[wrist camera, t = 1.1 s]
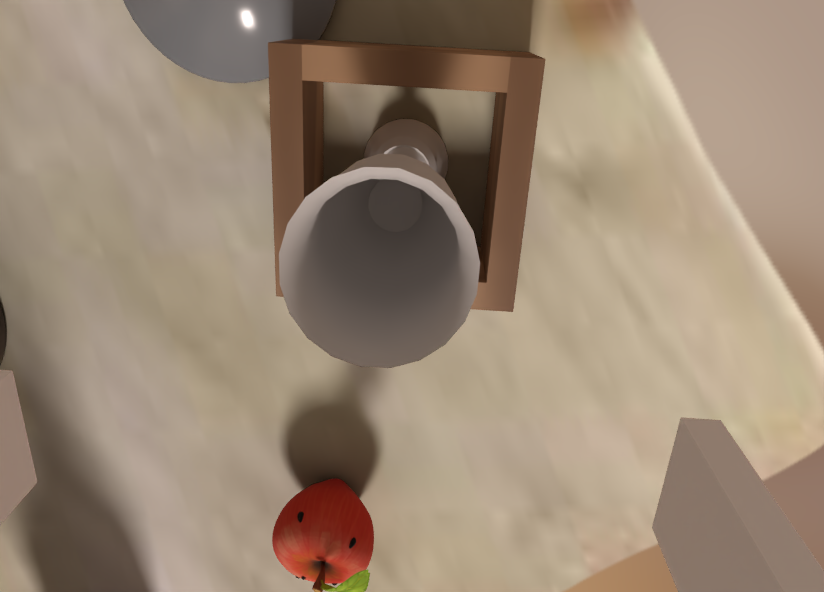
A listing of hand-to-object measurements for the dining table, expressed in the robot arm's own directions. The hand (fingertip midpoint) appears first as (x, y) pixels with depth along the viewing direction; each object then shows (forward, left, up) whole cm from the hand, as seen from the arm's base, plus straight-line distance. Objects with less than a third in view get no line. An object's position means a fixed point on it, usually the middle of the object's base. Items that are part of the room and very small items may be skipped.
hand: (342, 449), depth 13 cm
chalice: (0, 0, -28) cm, 28 cm away
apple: (-4, -25, -28) cm, 38 cm away
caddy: (0, 0, -28) cm, 28 cm away
